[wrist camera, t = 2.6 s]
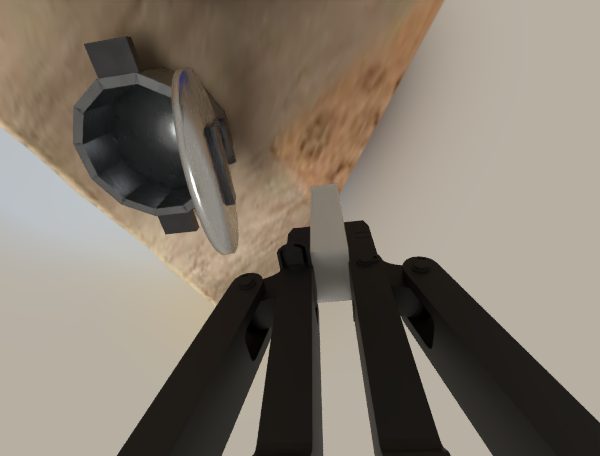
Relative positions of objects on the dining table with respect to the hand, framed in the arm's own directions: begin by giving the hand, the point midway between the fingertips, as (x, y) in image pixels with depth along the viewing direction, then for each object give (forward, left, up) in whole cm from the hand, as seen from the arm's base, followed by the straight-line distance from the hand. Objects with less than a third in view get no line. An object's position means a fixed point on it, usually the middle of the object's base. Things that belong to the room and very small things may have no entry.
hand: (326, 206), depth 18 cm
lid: (0, -10, -9) cm, 14 cm away
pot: (0, -20, -25) cm, 32 cm away
